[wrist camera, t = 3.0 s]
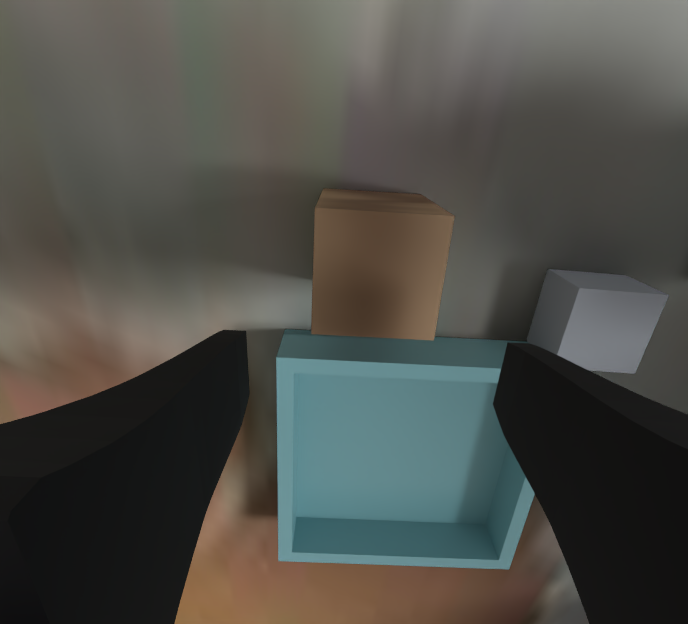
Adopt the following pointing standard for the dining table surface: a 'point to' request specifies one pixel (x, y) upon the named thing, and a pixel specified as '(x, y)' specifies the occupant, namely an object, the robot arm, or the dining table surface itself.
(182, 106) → the dining table surface
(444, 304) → the dining table surface
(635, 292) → the slate block
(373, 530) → the tray
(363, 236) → the walnut block
